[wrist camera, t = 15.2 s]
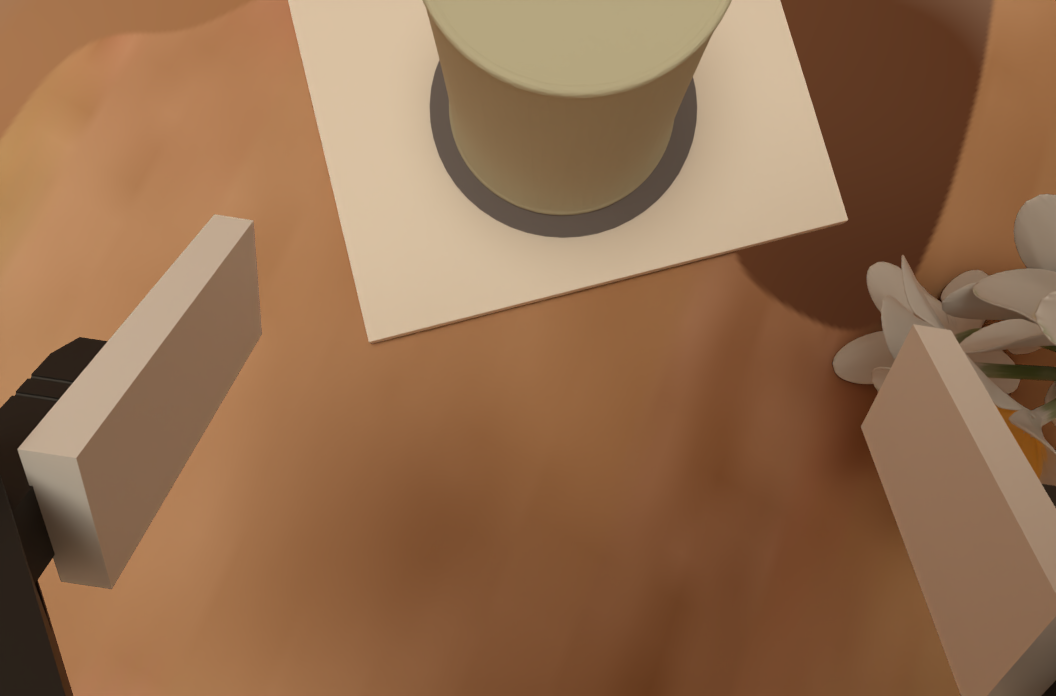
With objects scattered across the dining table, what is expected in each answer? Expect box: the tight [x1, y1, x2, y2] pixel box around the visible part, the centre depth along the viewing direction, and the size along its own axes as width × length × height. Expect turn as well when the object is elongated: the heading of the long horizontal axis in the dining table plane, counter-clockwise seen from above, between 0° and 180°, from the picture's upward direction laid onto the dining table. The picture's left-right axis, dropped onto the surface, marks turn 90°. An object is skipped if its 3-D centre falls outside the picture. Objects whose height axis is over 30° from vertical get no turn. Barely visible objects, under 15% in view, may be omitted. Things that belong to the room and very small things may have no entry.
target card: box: [288, 0, 848, 344], centre depth 34 cm, size 20×15×1 cm
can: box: [422, 0, 732, 215], centre depth 28 cm, size 9×9×12 cm
